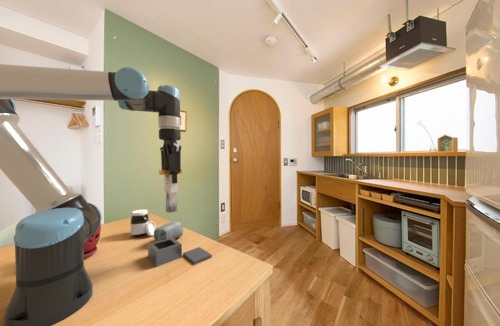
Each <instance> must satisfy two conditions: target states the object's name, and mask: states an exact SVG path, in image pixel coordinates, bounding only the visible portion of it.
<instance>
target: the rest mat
mask: <svg viewBox="0 0 500 326" xmlns="http://www.w3.org/2000/svg"><path fill="white" fill-rule="evenodd" d="M182 257H184V258H186V259H187V260H188V261H189V262H190V263H192V264H193V265H197V264H199V263H202V262H205V261H206V260H210V259H211V258H212V257H213V255H212V254H211V253H210V252H208V251H206V250H205V249H204V248H202V247H200V246H198V247H196V248H193V249H191V250H187V251H185V252H182Z"/></svg>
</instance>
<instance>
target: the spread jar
mask: <svg viewBox="0 0 500 326" xmlns="http://www.w3.org/2000/svg"><path fill="white" fill-rule="evenodd" d="M148 212H149V211H148V209H137V210H132V211H131V217H130V236H131V238H141V237H145V236H148V237H149V236H150V237H152V236H153V237H154V230H155V229H156V228H158V227H157V225H156V223H155V222H154V221H150V219H149V217H150V216H149V214H148Z"/></svg>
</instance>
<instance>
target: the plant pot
mask: <svg viewBox="0 0 500 326" xmlns="http://www.w3.org/2000/svg"><path fill="white" fill-rule="evenodd" d="M101 228H102V223H100V225H99V228H98V229H97V231H96V232H95V233H94V234H93V235H92V236H91V237H90V238H89V239H88V240H87V241H86V242H85V243H84V260H85V259H87V258H89V257H91V256H93V255H95V254H96V252H97V251H98V247H97V244H98V243H99V240H100V236H101V232H102V231H101Z"/></svg>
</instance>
